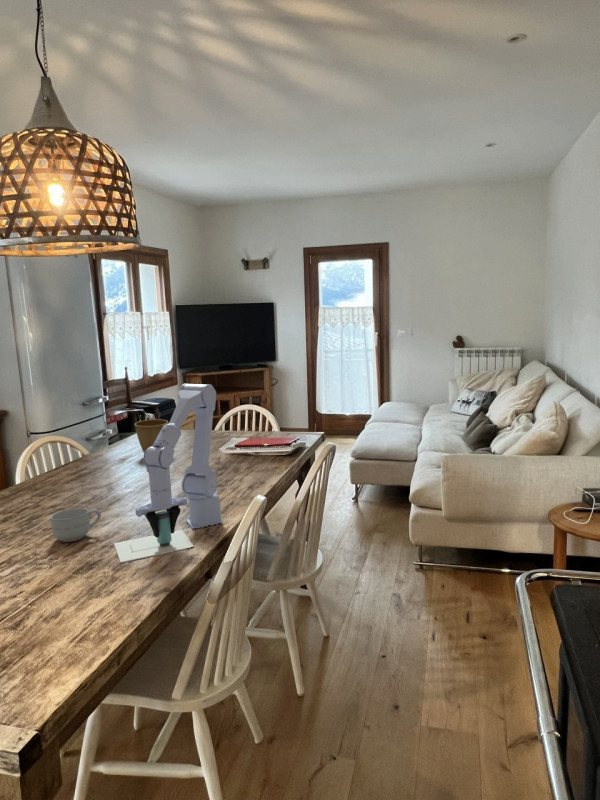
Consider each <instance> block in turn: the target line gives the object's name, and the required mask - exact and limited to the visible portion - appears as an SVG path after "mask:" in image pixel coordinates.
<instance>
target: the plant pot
mask: <svg viewBox="0 0 600 800" xmlns="http://www.w3.org/2000/svg"><path fill="white" fill-rule="evenodd" d="M166 424H169V421H168V420H167V419H145V420H140V421H136V422H135V423H134V427H135V431H136V436H137V439H138V441H139V444H140V445H139V446H140V447H141V451H142V452H143V454H144V453H145V451H146V449H148V448H149V447H151V446H153V444H154V442H155V440H156V438H157V436H158V435H159V433H160V431H161V429H162V427H163V426H164V425H166Z"/></svg>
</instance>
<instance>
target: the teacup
mask: <svg viewBox="0 0 600 800" xmlns="http://www.w3.org/2000/svg"><path fill="white" fill-rule="evenodd" d="M95 513H96V515H97V517H96V519H95V520H93V521H91V522H90V519H91V517H92V514H95ZM101 517H102V513H101V511H100V510H99V509H95V508H93V509H91V510H89V509H88V508H84V507H75V508H74V507H73V508H67V509H64V510H61V511H57V512H55V513H52V514H51V516H50V517H49V519H50V523H51V528H52V529H51V530H52V534H53V536H54V538H55V539H57V540H59V541H61V542H63V543H69V542H71V543H72V542H76V541H79V540H81V539H83V538H84V537H85V536H86V535H87V534H88V533H89V531H90V530H91V529H92V528H93V526H95V525H96V524H97V523H98V522H99V521H100V520H101Z"/></svg>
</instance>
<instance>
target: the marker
mask: <svg viewBox="0 0 600 800" xmlns="http://www.w3.org/2000/svg"><path fill="white" fill-rule="evenodd" d="M155 513H156V515H157V516H158V517H159V518H158V530H159V537H158V538H157V542H158V543H159V545H160V546H167V545H169V544H170V541H172V537H171V525H170V513H169V512H167V510H166V511H165V510H162V511H157V512H155Z"/></svg>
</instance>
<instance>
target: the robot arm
mask: <svg viewBox="0 0 600 800" xmlns="http://www.w3.org/2000/svg"><path fill="white" fill-rule="evenodd" d="M177 399H178V400H177V401H178V402H177V404H176V407H175V409H174V411H173V413H172V415H171V418H170V421H168V424H166V425H164V426H163V427H162V429H161V431H160V433H159V435H158V436H157V438H156V440H155V442H154V444H153V446H151V447H149V448H148V449H146V451H145V453H144V452H143V458H142V462H143V465H144V466H145V467H146V472H147V473H148V480H149V490H150V491H149V493H150V503H147V504H145V505H143V506H140V507H135V515H136V516H137V517H138V518H140V517H143V516H144V517H145V518H146V520H147V522H148V523H149V525H150V528H151V530H152V534H153V535H154V536H155V537H156V538H158V537H159V530H158V518H159V517H158V516H157V515H156V513H158V512H162V511H165V510H166V511H167V512H169V513H170V525H171V533H174V531H176V530H175V529H176V525H177V521H178V519H179V516H180V514H181V508H180V507H181V506H188V509H189V518H187V519H186V523H187V525H189V527H190V528H191V529H192V530H196V529H199V528H200V527H201V528H205V527H204V526H206V527H209V526H208V525H211V526H214V525H213V524H216V525H219V524H218V523H221V524H222V523H223V521H222V510H221V501H220V497H219V494H218V493H217V489H218V488H217V487H218V482H217V472H216V471H215V470H214V469H213V468H212V467H211V466H210V456H211V445H212V444H211V443H212V430H213V419H214V411H215V410H216V401H217V400H216V399H217V391H216V389H215V387H214V386H213V385H212V384H210V383H207V384H202V383H199V384H198V383H183V384H182V385H181V386H180V388H179V391H178V392H177ZM192 411H193V413H194V414H195V420H194V421H195V422H194V424H195V425H194V434H193V446H192V447H193V448H192V456H191V457H192V458H191V465H189V466H188V467H187V468H186V469H184V474H183V478H182V480H181V489H182V492H183V493H184V494H185V496H183V497H176V498H175V497H174V498H172V495H173V494H172V485H171V471H170V466H171V465H172V463H173V461H174V457H175V456H174V454H175V448H176V447H177V444H178V443H179V440H180V439H181V436H182V431H181V428H182V427H183V425H184V423H185V421H186V420H187V418H188V417H189V415H190V413H191V412H192ZM195 528H196V529H195Z"/></svg>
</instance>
